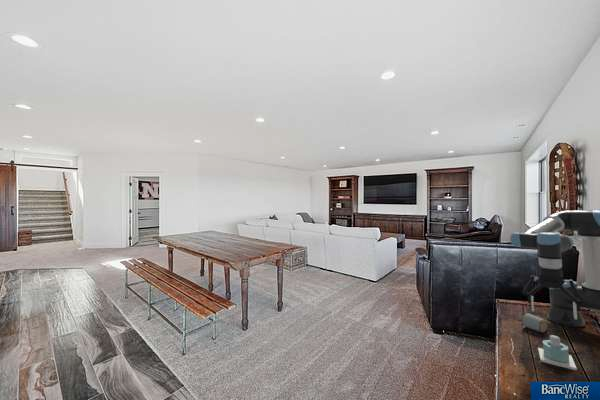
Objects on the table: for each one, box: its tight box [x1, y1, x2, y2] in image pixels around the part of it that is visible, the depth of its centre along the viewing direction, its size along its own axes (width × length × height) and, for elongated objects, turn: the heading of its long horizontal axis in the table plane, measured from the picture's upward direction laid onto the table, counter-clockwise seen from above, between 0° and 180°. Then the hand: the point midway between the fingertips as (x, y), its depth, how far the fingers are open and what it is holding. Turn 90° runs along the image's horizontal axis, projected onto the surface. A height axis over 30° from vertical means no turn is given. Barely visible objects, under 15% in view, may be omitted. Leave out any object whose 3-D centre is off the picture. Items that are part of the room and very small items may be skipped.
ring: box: [542, 339, 570, 362], centre depth 114 cm, size 8×8×5 cm
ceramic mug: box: [522, 313, 548, 334], centre depth 140 cm, size 11×8×8 cm
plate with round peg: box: [537, 334, 578, 372], centre depth 114 cm, size 11×11×10 cm
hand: (553, 314), depth 114 cm, fingers open, 13 cm apart
